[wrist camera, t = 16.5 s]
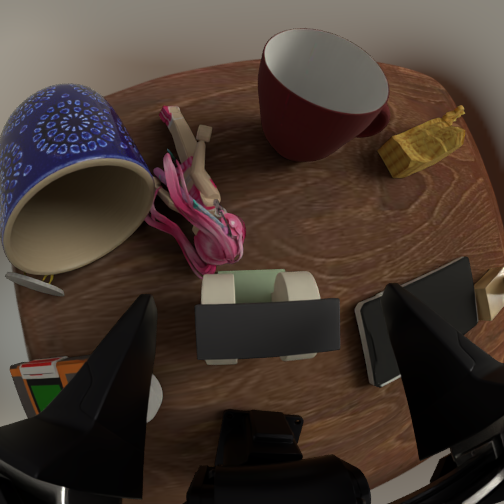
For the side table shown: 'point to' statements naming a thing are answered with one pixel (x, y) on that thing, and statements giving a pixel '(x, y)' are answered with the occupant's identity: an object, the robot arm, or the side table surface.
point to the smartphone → (431, 294)
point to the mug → (319, 93)
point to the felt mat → (253, 285)
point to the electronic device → (59, 383)
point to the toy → (195, 200)
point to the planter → (68, 181)
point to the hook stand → (490, 294)
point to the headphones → (265, 321)
